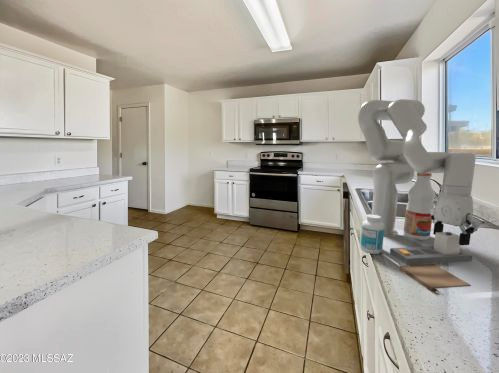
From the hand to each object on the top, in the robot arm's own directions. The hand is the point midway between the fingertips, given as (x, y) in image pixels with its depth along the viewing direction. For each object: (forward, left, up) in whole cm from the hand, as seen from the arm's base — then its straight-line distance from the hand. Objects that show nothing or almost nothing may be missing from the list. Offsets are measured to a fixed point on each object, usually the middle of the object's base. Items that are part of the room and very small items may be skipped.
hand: (450, 239), depth 84 cm
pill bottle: (-10, -22, -8) cm, 25 cm away
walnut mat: (+10, -15, -8) cm, 20 cm away
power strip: (-1, -6, -8) cm, 10 cm away
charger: (-1, 0, -7) cm, 6 cm away
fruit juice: (-20, +5, -8) cm, 22 cm away
